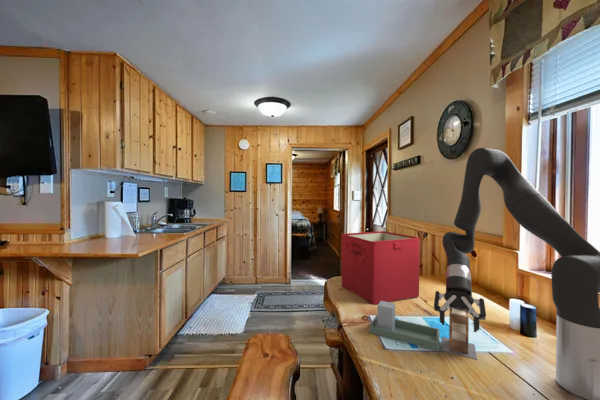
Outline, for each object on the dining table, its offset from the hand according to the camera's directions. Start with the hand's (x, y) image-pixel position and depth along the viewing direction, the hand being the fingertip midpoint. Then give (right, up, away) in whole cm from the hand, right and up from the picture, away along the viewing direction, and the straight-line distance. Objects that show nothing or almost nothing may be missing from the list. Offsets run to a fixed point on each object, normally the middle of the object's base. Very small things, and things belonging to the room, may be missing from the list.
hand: (458, 327), depth 82 cm
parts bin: (-13, -7, +9) cm, 18 cm away
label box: (+1, -7, +1) cm, 7 cm away
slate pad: (+1, -7, +1) cm, 7 cm away
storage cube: (-9, -7, +52) cm, 53 cm away
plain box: (-19, -7, +12) cm, 23 cm away
